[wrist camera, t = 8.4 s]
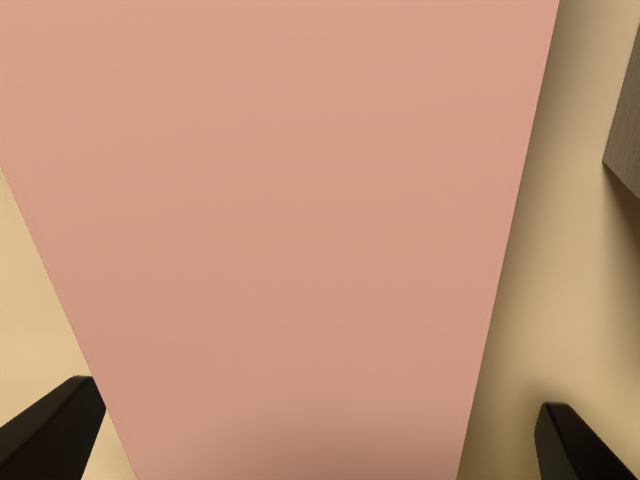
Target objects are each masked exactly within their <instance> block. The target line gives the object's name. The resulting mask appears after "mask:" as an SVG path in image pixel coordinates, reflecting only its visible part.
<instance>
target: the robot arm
mask: <svg viewBox="0 0 640 480" xmlns="http://www.w3.org/2000/svg"><path fill="white" fill-rule="evenodd" d="M105 412H106V406H105V403H104V401H103V399H102V397H101V394H100V392H99V390H98V387H97V385H96V383H95V381H94V378H93V377H92V376H80V375H77V376H73V377H71V378H69V379H68V380H66V381H65V382H64V383H62V384H61V385H59V386H58V387H56V388H55V389H54V390H52V391H51V392H49V393H48V394H47V395H45V396H44V397H42V398H41V399H40V400H38V401H37V402H35V403H34V404H33V405H31V406H30V407H28V408H27V409H26V410H24V411H23V412H21V413H20V414H19V415H17V416H16V417H14V418H13V419H12V420H10V421H9V422H7V423H6V424H4V425H3V426H2V427H0V480H81V478H82V476H83V473H84V471H85V468H86V465H87V462H88V459H89V457H90V454H91V451H92V448H93V446H94V443H95V440H96V437H97V435H98V432H99V429H100V426H101V424H102V421H103V418H104V415H105ZM534 438H535V445H536V451H537V457H538V463H539V469H540V474H541V480H638V479H637V478H636V477H635V476H634V475H633V473H632V472H631V471H630V470H629V469H628V468H627V467H626V466H625V465H624V464H623V463H622V462H621V460H620V459H619V458H618V457H617V456H616V455H615V454H614V453H613V452H612V451H611V450H610V449H609V447H608V446H607V445H606V444H605V443H604V442H603V441H602V440H601V439H600V438H599V437H598V436H597V434H596V433H595V432H594V431H593V430H592V429H591V428H590V427H589V426H588V425H587V424H586V423H585V421H584V420H583V419H582V418H581V417H580V416H579V415H578V414H577V413H576V412H575V411H574V410H573V408H572V407H571V406H569V405H568V404H566V403H563V402H544V403H543V404H542V405H541V408H540V412H539V415H538V419H537V422H536V426H535V431H534Z"/></svg>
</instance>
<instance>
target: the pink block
mask: <svg viewBox="0 0 640 480" xmlns="http://www.w3.org/2000/svg"><path fill="white" fill-rule="evenodd" d="M559 1H560V0H0V165H1V168H2V170H3V172H4V174H5V177H6V179H7V181H8V184H9V186H10V188H11V190H12V193H13V195H14V197H15V200H16V202H17V204H18V206H19V209H20V211H21V213H22V216H23V218H24V220H25V222H26V225H27V227H28V229H29V232H30V234H31V236H32V239H33V241H34V243H35V245H36V248H37V250H38V252H39V255H40V257H41V259H42V261H43V264H44V266H45V268H46V271H47V273H48V275H49V277H50V280H51V282H52V284H53V287H54V289H55V291H56V293H57V296H58V298H59V300H60V303H61V305H62V307H63V310H64V312H65V314H66V316H67V319H68V321H69V323H70V326H71V328H72V330H73V332H74V335H75V337H76V339H77V342H78V344H79V346H80V348H81V351H82V353H83V355H84V358H85V360H86V362H87V364H88V367H89V369H90V371H91V374H92V376H93V378H94V381H95V383H96V385H97V387H98V390H99V392H100V394H101V397H102V399H103V401H104V403H105V406H106V408H107V410H108V413H109V415H110V417H111V419H112V422H113V424H114V426H115V429H116V431H117V433H118V435H119V438H120V440H121V442H122V445H123V447H124V449H125V451H126V454H127V456H128V458H129V461H130V463H131V465H132V468H133V470H134V472H135V474H136V477H137V479H138V480H456V477H457V473H458V468H459V464H460V459H461V454H462V450H463V445H464V440H465V436H466V431H467V427H468V422H469V417H470V413H471V408H472V403H473V399H474V394H475V390H476V385H477V380H478V376H479V371H480V366H481V362H482V357H483V353H484V348H485V343H486V339H487V334H488V329H489V325H490V320H491V316H492V311H493V306H494V302H495V297H496V292H497V288H498V283H499V279H500V274H501V269H502V265H503V260H504V255H505V251H506V246H507V242H508V237H509V232H510V228H511V223H512V218H513V214H514V209H515V205H516V200H517V195H518V191H519V186H520V181H521V177H522V172H523V168H524V163H525V158H526V154H527V149H528V144H529V140H530V135H531V131H532V126H533V121H534V117H535V112H536V108H537V103H538V98H539V94H540V89H541V84H542V80H543V75H544V71H545V66H546V61H547V57H548V52H549V47H550V43H551V38H552V34H553V29H554V24H555V20H556V15H557V10H558V6H559Z"/></svg>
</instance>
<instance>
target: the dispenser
mask: <svg viewBox="0 0 640 480" xmlns="http://www.w3.org/2000/svg"><path fill="white" fill-rule="evenodd" d="M603 162H604V163H605V164H606V165H607V166H608V167H609V168H610V169H611V170H612V171H613V172H614V173H615V175H616V176H617V177H618V178H619V179H620V180H621V181H622V182H623V183H624V184H625V185H626V186H627V187H628V188H629V189H630V190H631V191H632V193H633V194H634V195H635V196H636V197H637V198H638V199H639V200H640V25H639V29H638V33H637V36H636V40H635V44H634V47H633V51H632V55H631V58H630V62H629V66H628V69H627V73H626V77H625V80H624V84H623V88H622V91H621V95H620V99H619V102H618V106H617V109H616V113H615V117H614V120H613V124H612V128H611V131H610V135H609V139H608V142H607V146H606V150H605V153H604V157H603Z"/></svg>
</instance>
